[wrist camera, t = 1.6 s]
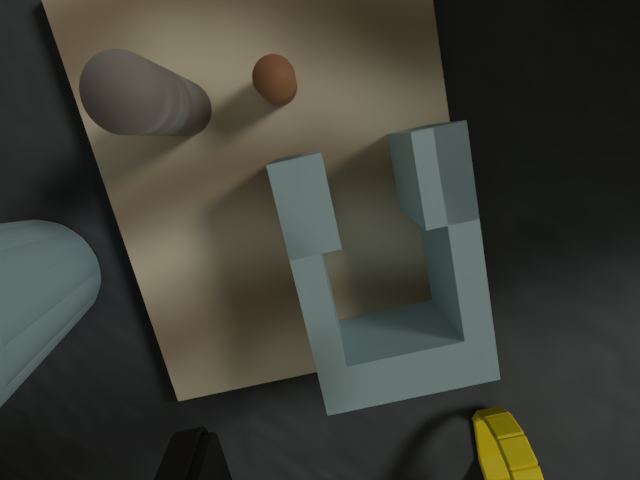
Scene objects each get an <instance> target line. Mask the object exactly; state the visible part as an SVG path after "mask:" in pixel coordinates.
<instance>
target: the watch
mask: <svg viewBox="0 0 640 480" xmlns="http://www.w3.org/2000/svg"><path fill="white" fill-rule="evenodd" d="M472 420H473V425H474V432H475V439H476V446H477V454H478V460H479V464H480V467H481V470H482V473H483V476H484V480H544V479H543V476H542V473H541V469H540V467H539V466H538V465H537V464H538V462H537V459H536V457H535V455H534V453H533V451H532V449H531V446H530V444H529V442H528V440H527V438H526V436H525V435H524V432H523V431H522V429H521V428H520V426H519V425H518V423H517V422H516V420H515V419H514V417H513V416H512V415H511V414H510V413H509V412H508V411H506V410H505V409H503V408H502V407H500V406H497V407H492V408H487V409H482V410H477V411H476V412H475V414H474V415H473V417H472ZM508 470H509V473H508Z"/></svg>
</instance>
